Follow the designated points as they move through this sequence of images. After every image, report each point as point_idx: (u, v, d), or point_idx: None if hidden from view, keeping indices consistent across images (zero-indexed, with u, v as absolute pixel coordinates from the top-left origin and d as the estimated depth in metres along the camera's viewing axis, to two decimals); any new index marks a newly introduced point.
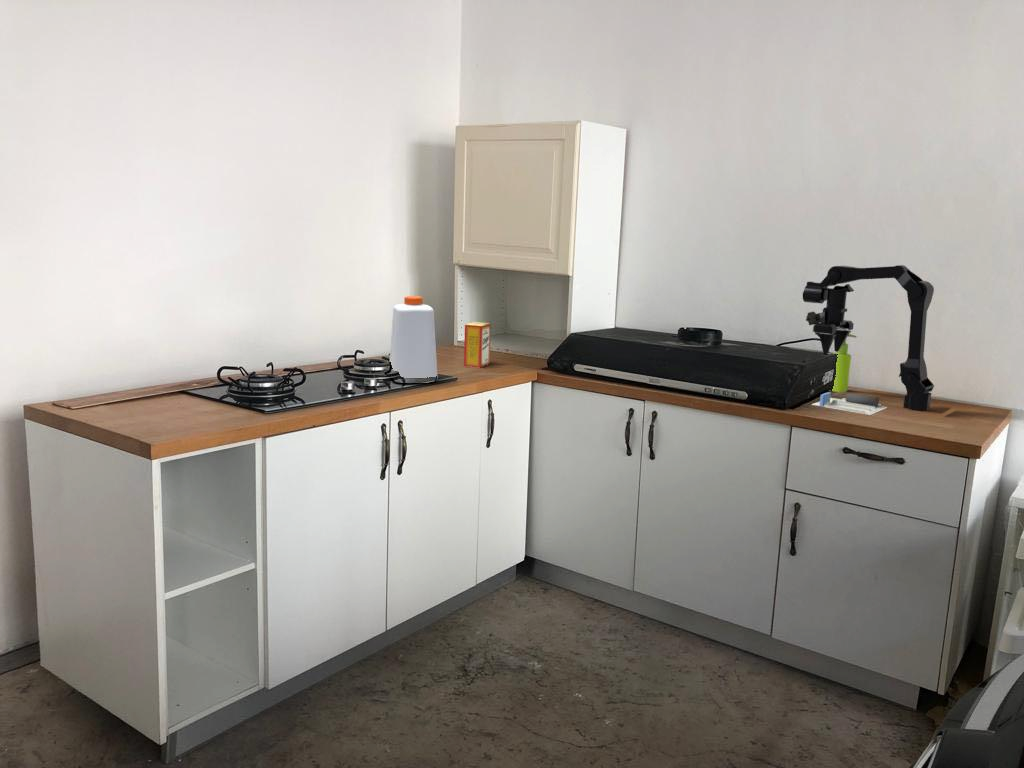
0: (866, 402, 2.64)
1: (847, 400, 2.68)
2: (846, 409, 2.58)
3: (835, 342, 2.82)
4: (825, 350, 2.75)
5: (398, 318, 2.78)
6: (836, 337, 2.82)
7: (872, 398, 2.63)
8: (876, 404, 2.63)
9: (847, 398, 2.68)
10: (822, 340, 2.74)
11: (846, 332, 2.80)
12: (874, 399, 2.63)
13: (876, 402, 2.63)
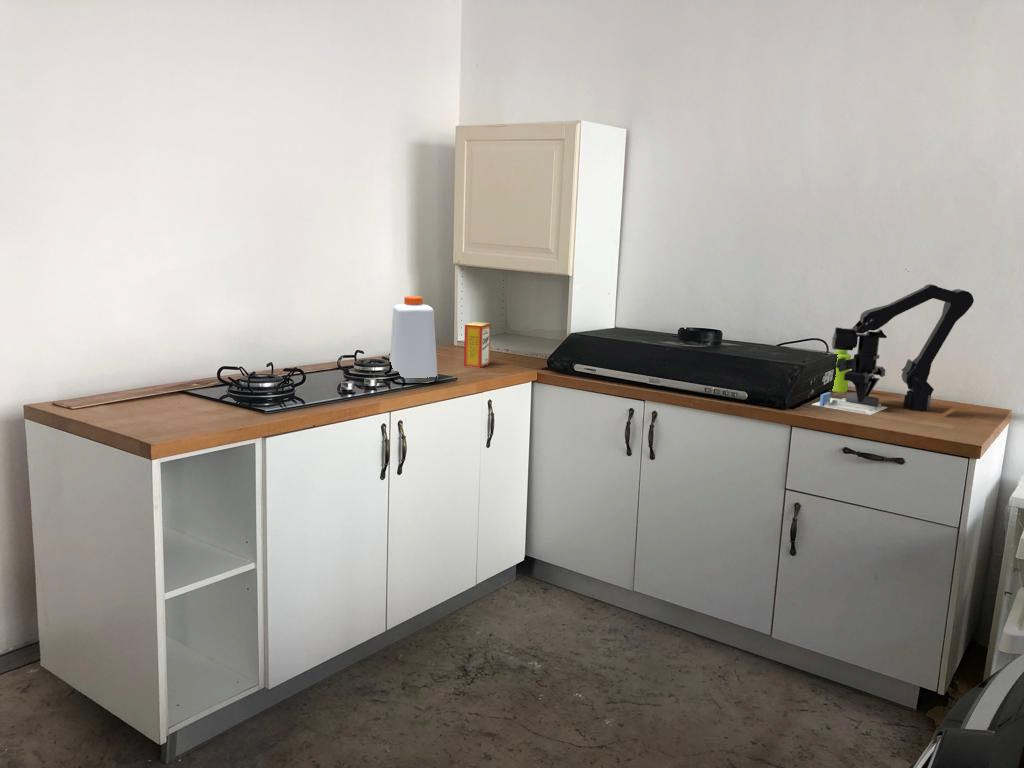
0: (866, 402, 2.64)
1: (847, 400, 2.68)
2: (846, 409, 2.58)
3: None
4: (860, 397, 2.64)
5: (398, 318, 2.78)
6: None
7: (872, 398, 2.63)
8: (876, 404, 2.63)
9: (847, 398, 2.68)
10: (857, 387, 2.64)
11: (874, 380, 2.65)
12: (874, 399, 2.63)
13: (876, 402, 2.63)
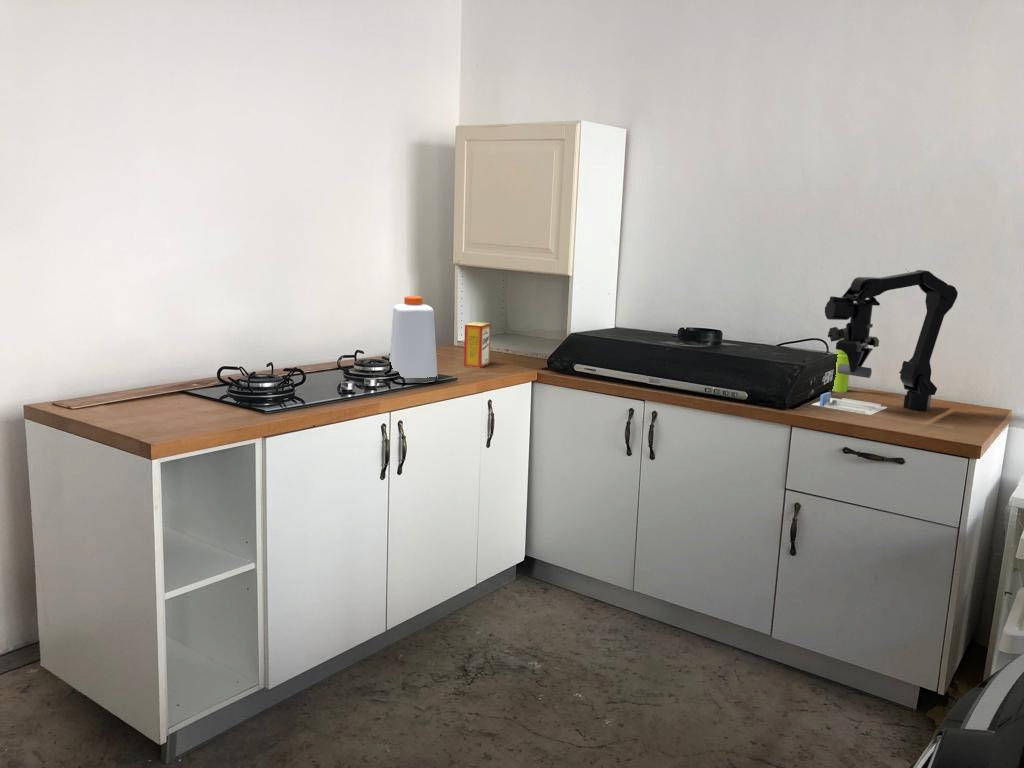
0: (859, 372, 2.55)
1: (839, 371, 2.59)
2: (846, 409, 2.58)
3: None
4: (852, 368, 2.56)
5: (398, 318, 2.78)
6: None
7: (865, 368, 2.55)
8: (869, 374, 2.55)
9: (839, 369, 2.59)
10: (849, 357, 2.55)
11: (867, 350, 2.56)
12: (867, 369, 2.54)
13: (868, 372, 2.54)
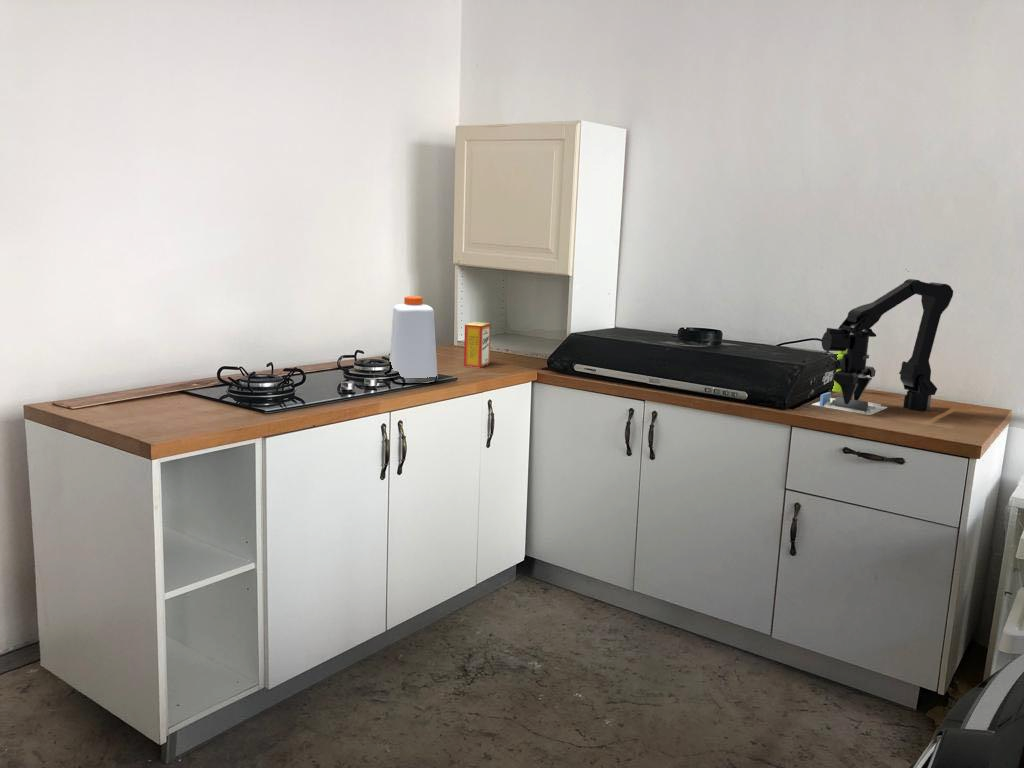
0: (855, 405, 2.57)
1: (836, 403, 2.61)
2: (846, 409, 2.58)
3: (855, 390, 2.62)
4: (846, 399, 2.56)
5: (398, 318, 2.78)
6: None
7: (861, 402, 2.57)
8: (865, 408, 2.57)
9: (836, 401, 2.61)
10: (843, 389, 2.55)
11: (867, 380, 2.60)
12: (863, 403, 2.56)
13: (865, 405, 2.56)
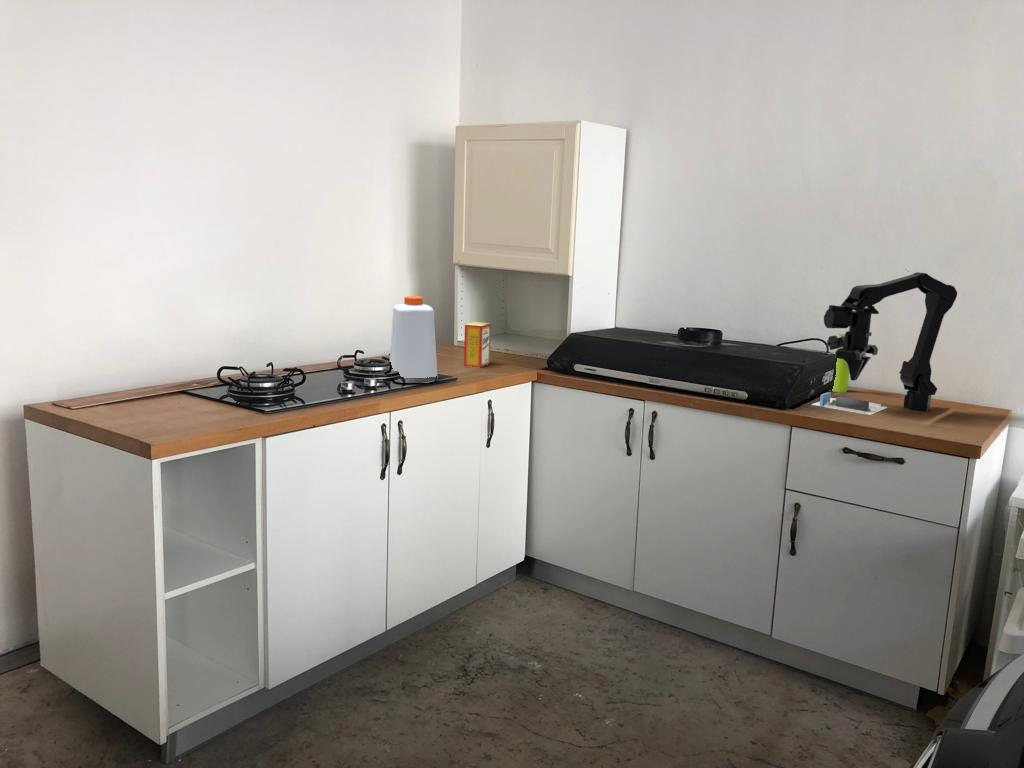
0: (857, 403, 2.58)
1: (837, 401, 2.62)
2: (846, 409, 2.58)
3: None
4: (853, 376, 2.57)
5: (398, 318, 2.78)
6: None
7: None
8: (866, 407, 2.57)
9: (837, 399, 2.62)
10: (850, 365, 2.56)
11: (865, 359, 2.56)
12: (865, 401, 2.57)
13: (866, 404, 2.57)
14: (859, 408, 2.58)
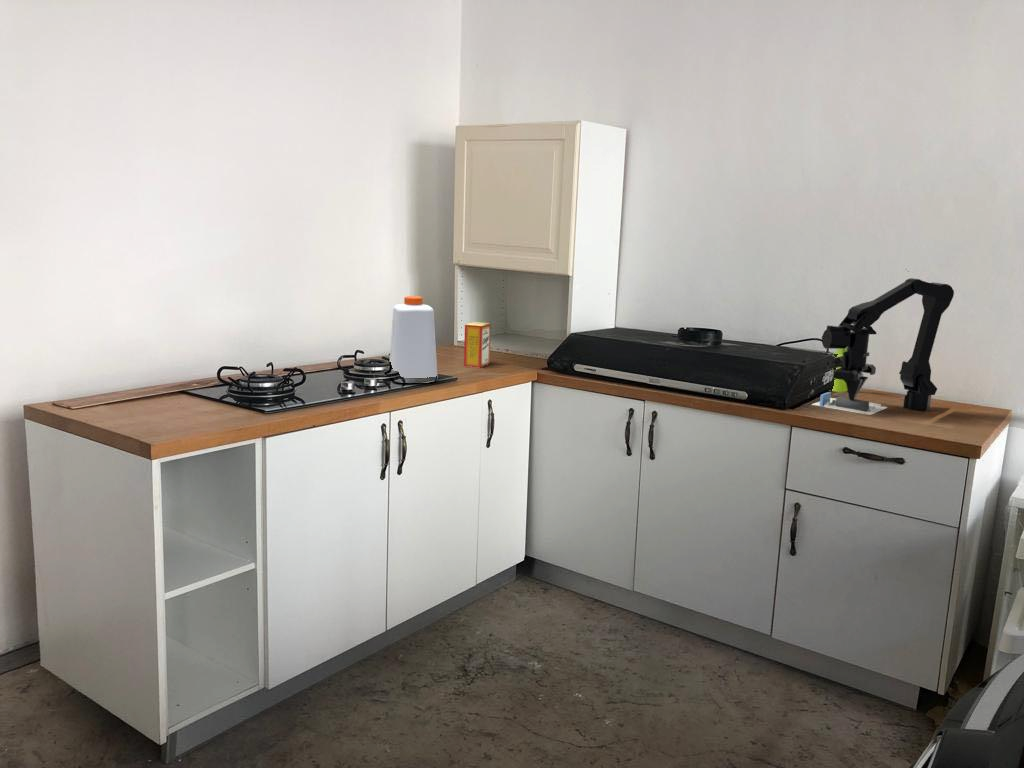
0: (857, 402, 2.58)
1: (837, 401, 2.62)
2: (846, 409, 2.58)
3: None
4: (851, 395, 2.58)
5: (398, 318, 2.78)
6: None
7: None
8: (866, 407, 2.57)
9: (838, 398, 2.62)
10: (848, 385, 2.58)
11: (863, 379, 2.57)
12: (865, 401, 2.57)
13: (866, 404, 2.57)
14: (859, 408, 2.58)
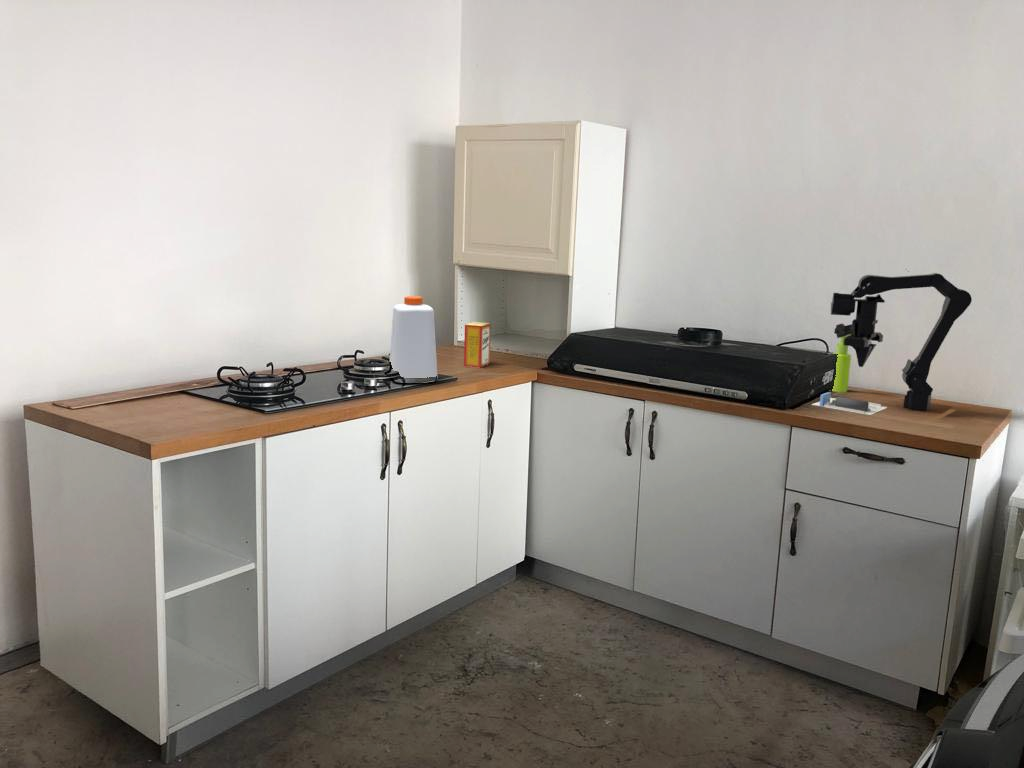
0: (856, 404, 2.58)
1: (836, 402, 2.62)
2: (846, 409, 2.58)
3: None
4: (861, 362, 2.64)
5: (398, 318, 2.78)
6: None
7: (862, 401, 2.57)
8: (866, 408, 2.57)
9: (837, 400, 2.62)
10: (857, 352, 2.64)
11: (871, 346, 2.63)
12: (864, 402, 2.57)
13: (866, 405, 2.57)
14: (859, 409, 2.58)
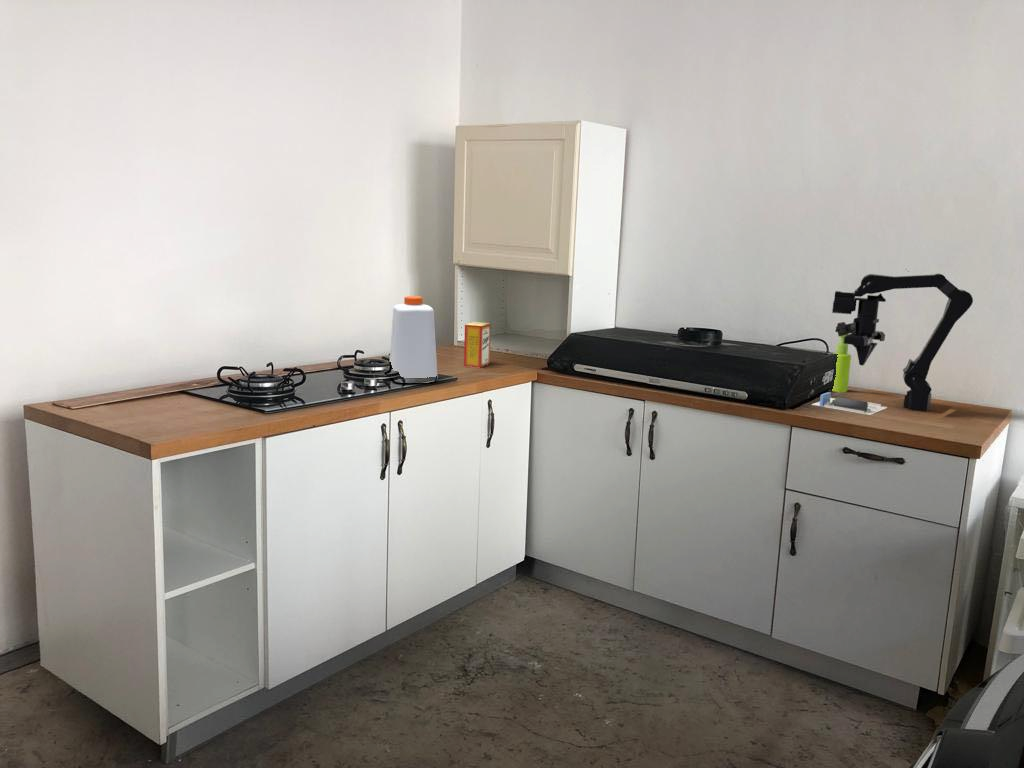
0: (855, 406, 2.57)
1: (835, 404, 2.61)
2: (846, 409, 2.58)
3: None
4: (861, 361, 2.66)
5: (398, 318, 2.78)
6: None
7: (861, 402, 2.57)
8: (865, 408, 2.57)
9: (835, 402, 2.61)
10: (858, 351, 2.65)
11: (872, 345, 2.64)
12: (863, 403, 2.56)
13: (865, 406, 2.56)
14: None
